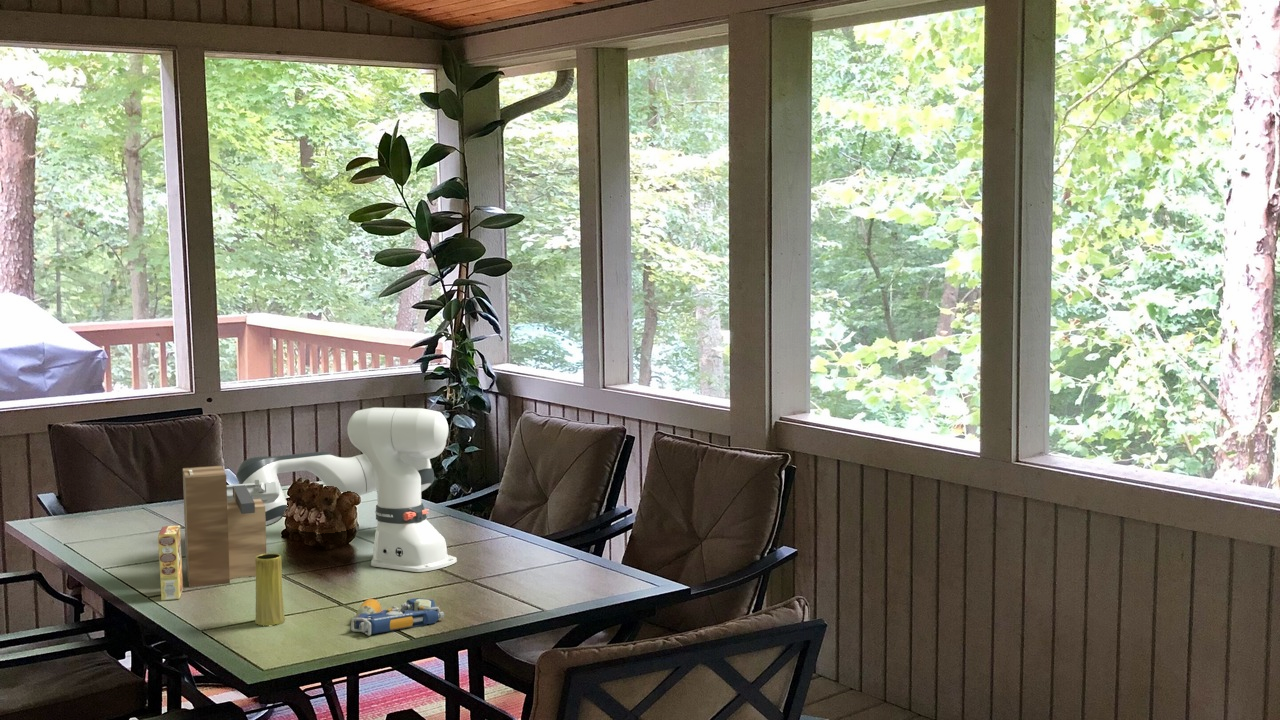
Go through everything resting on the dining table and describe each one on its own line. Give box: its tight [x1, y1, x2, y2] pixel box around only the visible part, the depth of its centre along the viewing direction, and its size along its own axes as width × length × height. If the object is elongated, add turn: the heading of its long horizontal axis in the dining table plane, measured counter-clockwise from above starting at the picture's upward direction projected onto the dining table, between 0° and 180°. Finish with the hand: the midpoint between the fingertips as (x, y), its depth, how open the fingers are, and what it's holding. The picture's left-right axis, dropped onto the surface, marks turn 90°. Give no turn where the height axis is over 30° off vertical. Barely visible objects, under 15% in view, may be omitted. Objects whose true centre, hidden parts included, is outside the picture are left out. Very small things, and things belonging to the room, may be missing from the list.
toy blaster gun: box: [350, 597, 445, 636], centre depth 259 cm, size 21×4×15 cm
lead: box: [233, 485, 255, 514], centre depth 298 cm, size 24×3×2 cm, turn 23°
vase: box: [254, 552, 286, 627], centre depth 258 cm, size 6×6×14 cm
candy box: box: [157, 525, 184, 601], centre depth 278 cm, size 9×4×15 cm, turn 16°
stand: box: [182, 465, 268, 588], centre depth 295 cm, size 14×18×26 cm
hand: (239, 483), depth 306 cm, fingers open, 8 cm apart
